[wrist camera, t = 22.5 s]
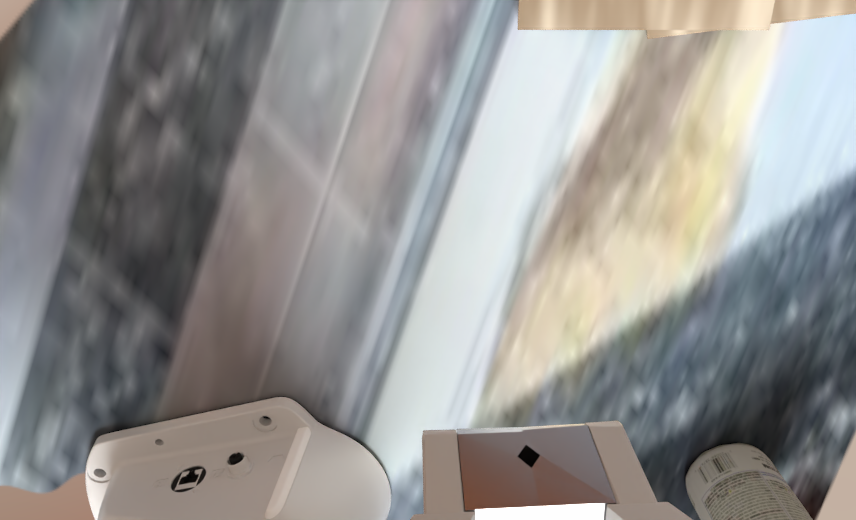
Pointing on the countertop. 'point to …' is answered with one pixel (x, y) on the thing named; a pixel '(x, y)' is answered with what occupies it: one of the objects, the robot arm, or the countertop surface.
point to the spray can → (740, 486)
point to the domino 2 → (786, 13)
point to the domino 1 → (645, 14)
